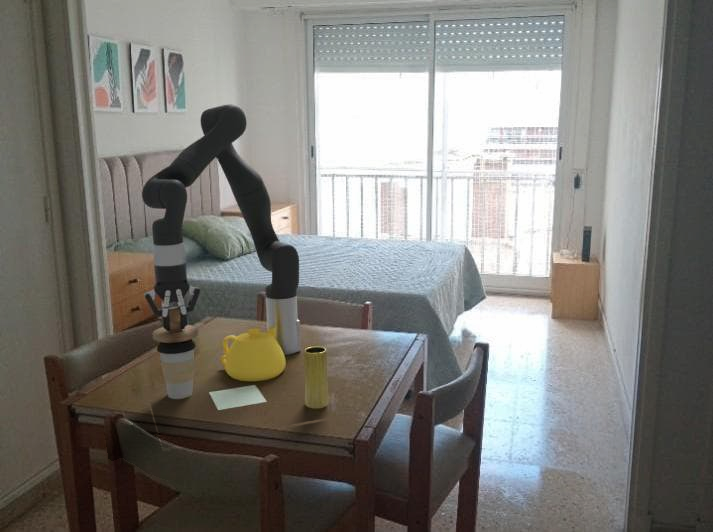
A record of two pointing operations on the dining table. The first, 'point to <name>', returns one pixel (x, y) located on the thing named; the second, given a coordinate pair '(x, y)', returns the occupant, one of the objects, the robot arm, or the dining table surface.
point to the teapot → (253, 356)
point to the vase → (316, 378)
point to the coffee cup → (178, 367)
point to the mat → (237, 397)
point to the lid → (175, 329)
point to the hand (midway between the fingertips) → (175, 328)
